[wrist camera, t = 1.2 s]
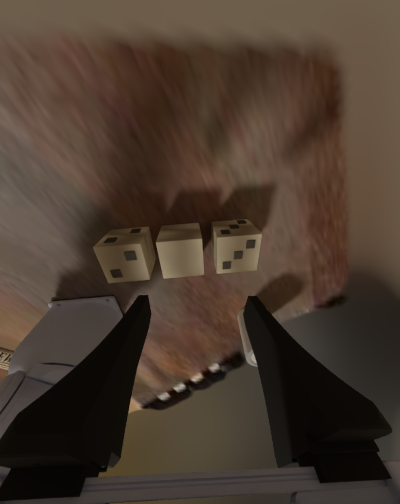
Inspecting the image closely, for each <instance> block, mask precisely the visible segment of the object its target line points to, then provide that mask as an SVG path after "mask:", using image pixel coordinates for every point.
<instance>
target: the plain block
mask: <svg viewBox="0 0 400 504" xmlns="http://www.w3.org/2000/svg"><path fill="white" fill-rule="evenodd" d="M156 246H157V250H158V255H159V260H160V264H161V269H162V274H163V278H174V277H185V276H196V275H204V267H203V248H202V236H201V231H200V226H199V223H189V224H176V225H164V226H161V229H160V232H159V234H158V237H157V240H156Z"/></svg>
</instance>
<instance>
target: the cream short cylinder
mask: <svg viewBox="0 0 400 504" xmlns="http://www.w3.org/2000/svg"><path fill="white" fill-rule="evenodd" d="M244 309H245V308H243V309H242V310H241V311H240V312H239V313H238V317H237V318H238V323H239V328H240V332H241V337H242V342H243V347H244V351H245V356H246V360H247V362H248V363H249V364H251V365H252V366H257V362H256V359H255V356H254V353H253V350H252V347H251V343H250V340H249V337H248V334H247V331H246V327H245V323H244V317H243V312H244ZM267 310H268V309H267ZM268 311H269V310H268ZM257 367H258V366H257Z"/></svg>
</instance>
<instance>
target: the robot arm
mask: <svg viewBox="0 0 400 504" xmlns="http://www.w3.org/2000/svg"><path fill="white" fill-rule="evenodd" d="M48 306H49V307H50V308H51V309H50V310H49V311H48V312H47V314H46V315H45V316H44V317H43V318H42V319H41V320H40V321H39V323H38V324H37V325H36V326H35V327H34V328H33V329H32V331H31V332H30V333H29V334H28V335H27V336H26V337H25V339H24V340H23V341H22V342H21V343H20V344H19V346H18V347H17V348H16V350H15V351H14V353H13V355H12V357H11V360H10V363H9V367H8V374H9V375H8V376H6V377H4V378H3V379H2V380H1V381H0V504H108V503H123V502H138V501H157V500H173V499H191V498H208V497H224V496H241V495H259V494H275V493H292V494H291V500H290V503H286V504H400V459H392V460H383V461H381V459H380V457H379V456H378V454H377V452H379V448H378V447H377V445H376V443H375V442H374V439H377V438H380V437H383V436H386V435H388V434H390V433H391V432H392V428H391V426H390V425H389V424H388V422H387V421H386V419H385V418H384V416H383V415H382V414H381V412H380V411H379V410H378V408H377V407H376V405H374V403H373V402H372V401H370V400H369V399H367V398H366V397H364V396H363V395H362V394H360V393H359V392H357V391H356V390H354V389H353V388H352V387H350V386H349V385H348V384H346V383H345V382H344V381H342V380H341V379H339V378H338V377H337V376H336V375H334V374H333V373H332V372H330V371H329V370H328V369H327V368H326V367H324V366H323V365H322V364H321V363H320V362H318V361H317V360H316V359H315V358H314V357H312V356H311V355H310V354H309V353H308V352H307V351H306V350H305V349H304V348H302V347H301V346H300V345H299V344H298V343H297V342H296V341H295V340H294V339H293V338H292V337H291V336H290V335H289V334H288V333H287V331H286V330H285V329H283V327H282V326H281V325H280V324H279V323H278V321H277V320H276V319H275V318H274V317H273V316H272V315H271V313H270V312H269V311H268V310H267V308H266V307H265V306H264V305H263V304H262V302H261V301H260V300H259V299H258V297H257V296H248V299H247V302H246V305H245V309H244V312H243V317H244V323H245V327H246V331H247V334H248V337H249V340H250V343H251V347H252V350H253V353H254V356H255V359H256V362H257V366H258V370H259V374H260V378H261V383H262V387H263V392H264V396H265V402H266V407H267V412H268V417H269V423H270V429H271V435H272V441H273V446H274V453H275V458H276V462H277V465H278V468H273V469H252V470H233V471H212V472H192V473H173V474H152V475H132V476H113V477H98V475H99V472H106V471H107V468H112V467H114V466H115V465H116V464H117V462H118V461H119V460H120V458H121V451H122V445H123V439H124V433H125V427H126V422H127V416H128V411H129V405H130V400H131V395H132V390H133V385H134V380H135V375H136V370H137V367H138V363H139V359H140V356H141V353H142V349H143V346H144V343H145V339H146V336H147V332H148V329H149V324H150V318H151V309H150V304H149V298H148V295H139V296H138V297H137V298H136V300H135V301H134V303H133V304H132V305H131V307H130V308H129V309H128V311H127V312H126V313H125V315H124V316H123V314H122V312H121V310H120V308H119V306H118V303H117V301H116V299H115V297H113V296H106V297H95V298H84V299H74V300H63V301H52V302H50V303H49V304H48Z"/></svg>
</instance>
